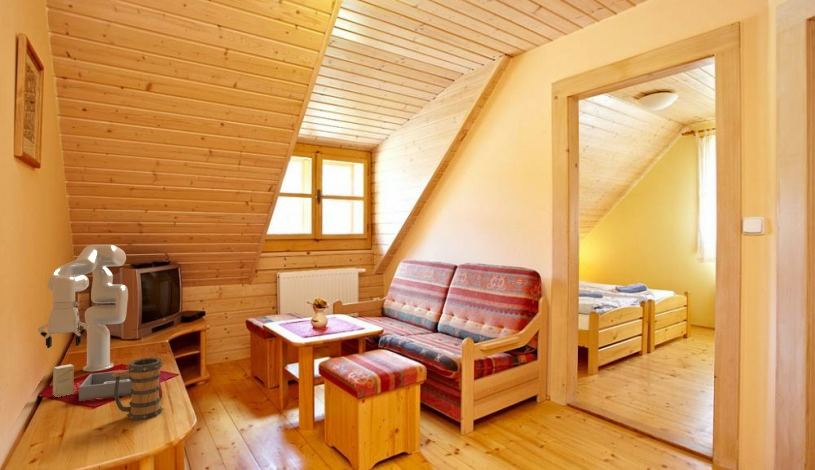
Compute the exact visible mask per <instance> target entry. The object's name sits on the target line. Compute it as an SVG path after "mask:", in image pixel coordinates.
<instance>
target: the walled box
mask: <svg viewBox="0 0 815 470" xmlns="http://www.w3.org/2000/svg"><path fill="white" fill-rule="evenodd" d="M117 371H118V370H116V371H108V372H107V371H105V372H97V373H90V374H89V375H88V376H87V377H86V379H85V380H84V381H83V382H82V383H81V384H79V386H78V402H79V401H82V400H88V399H96V398H106V399H108V398H107V397H114V389H115V383H116V377H114V376H112V374H113V373H115V372H117ZM123 371H129V369H126V370H125V369H124V370H123ZM130 377H131V376H120V381H119V388H118V395H119V396H122V397H127V396H129V397H130V396H132V394H131V393H130V392H131V389H132V382H131V380H129V378H130ZM114 398H115V397H114Z"/></svg>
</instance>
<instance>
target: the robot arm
mask: <svg viewBox="0 0 815 470" xmlns="http://www.w3.org/2000/svg"><path fill="white" fill-rule="evenodd" d="M126 255H127V254H126V253H125V251H124V250H123V249H122V248H120V247H119V246H116V245H113V244H89V245H87V246H85V247H84V248H83V250H82V251H81V252H80V254H78V257H77V258H76V259H75V260H72V261H70V262H67V263H65V264H63V265H60V266H58V267H57V268H56V269H54V271H53V272H52V273H51V275H50V276H49V278H48V280H47V288H48V290H49V291H50V292H51V293H52V308H51V309H50V310H49V316H48V323H46V324H44V325H42V326H40V327H38V328H37V331H38V332H39V334H40V336H41V337H43V338H44V339H45V347H47V349H49V348H51V347H52V346H53V337H52V335H54V334H55V335H56V334H67V333H68V334H69V333H74V334H75V335H76V336H75V346H76V347H77V346H79V345H80V344H81V343H82V335H83V334H84V333H85V332H86V365H85V366H83V367H82V371H83V372H86V373H87V372H89V373H90V372H91V373H93V372H100V371H106V370H109V369H111V368H113V367H114V363H113V362H111V351H110V350H111V331H110V330H109V328H108V327H107V325H118V324H122V323H125V320H126V319H127V309H128V302H129V290H128V287H127V286H126V285H125V284H122V283H115V284H113V279H114V275H113V273H112V271H111V270H110V269H109V267H121V266H123V265H124V264H125V263H126V261H127V256H126ZM91 273H92V284H91V292H90V293H91V294H90V299H91V302H93V303H94V304H95V303H96V304H110V305H93V306H90V307H88V308H86V310H85V311H84V321H85V322H83V321H80V311H79V308H78V307H77V306H80V302H77V300H76V292H83V291H85V290H86V289H87V288H88V287H89V285H90V280H89V277H87V275H88V274H91ZM111 303H113V304H114V305H113V304H112V305H111ZM80 327H83V328H82V330H80ZM46 328H47V332H48V333H47V332H46V331H45V330H44V329H46Z"/></svg>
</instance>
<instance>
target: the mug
mask: <svg viewBox="0 0 815 470" xmlns="http://www.w3.org/2000/svg"><path fill="white" fill-rule="evenodd" d="M164 364H165V362H164V361H163V360H162V358H159V357H144V358H140V359H134V360H133V361H130V362H129V363H128V365H127V366H126V367H125V369H127V370H129V371H124V370H116V371H117V372H115V371H114V372H115V373H113V374H112V376H114V377H116V383H115V389H114V401H115V404H116V406H117V408H118V409H119V411H121V412H124V413H125V412H126V413H127V414H125V416H126V417H128V419H129V420H131V419H132V421H145V420H149V419H152V418H156V417H157V416H159V415H161V413H162V411H163V410H165V408H163V407H162V406H161V403H160V402H161V400H162V398H160V397H159V389H160V385H159V382H160V377H161V376H162V373H161V368H162V366H163V365H164ZM120 376H131V377H130V378H129V380H131V382H132V389H131V392H130V393H131V394H132V395H131V400H130V401H129V403H128V404H129V406H125V405H123V404H122V402H121V400H120V397H119V395H118V388H119V381H120Z"/></svg>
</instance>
